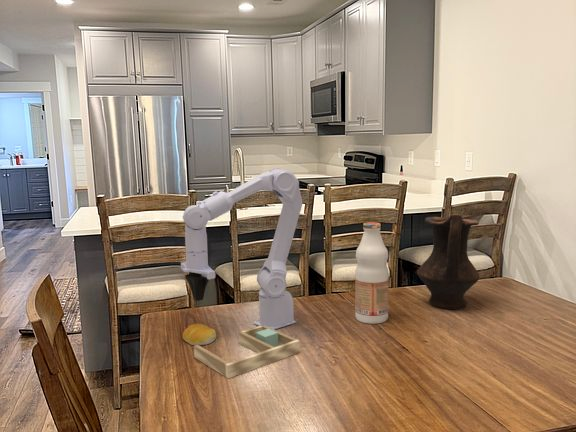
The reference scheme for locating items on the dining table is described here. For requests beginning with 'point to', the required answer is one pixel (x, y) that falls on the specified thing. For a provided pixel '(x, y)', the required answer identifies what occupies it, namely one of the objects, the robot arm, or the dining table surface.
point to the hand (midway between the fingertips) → (198, 299)
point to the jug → (449, 262)
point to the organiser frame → (262, 357)
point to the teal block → (268, 337)
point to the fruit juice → (371, 277)
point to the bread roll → (199, 334)
